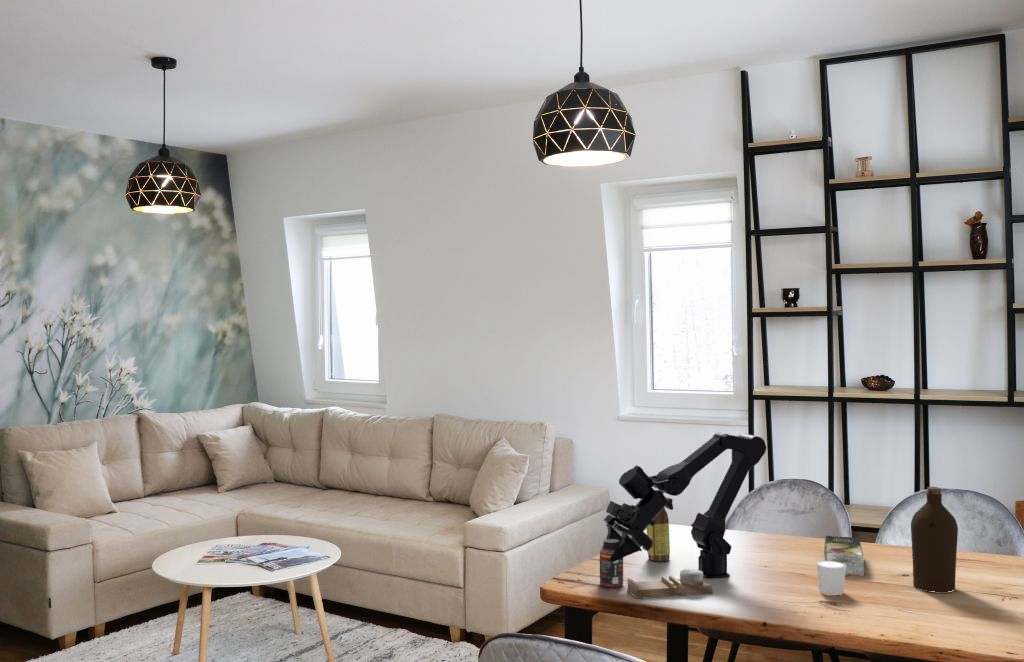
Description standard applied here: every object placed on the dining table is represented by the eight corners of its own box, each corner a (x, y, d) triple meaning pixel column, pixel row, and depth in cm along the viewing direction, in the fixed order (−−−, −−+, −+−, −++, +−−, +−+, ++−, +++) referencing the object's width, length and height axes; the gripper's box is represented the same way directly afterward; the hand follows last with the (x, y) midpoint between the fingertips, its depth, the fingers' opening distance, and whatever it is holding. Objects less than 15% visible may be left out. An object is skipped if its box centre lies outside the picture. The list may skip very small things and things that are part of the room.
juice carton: (866, 577, 229) (866, 554, 229) (826, 575, 232) (826, 551, 232) (860, 558, 248) (860, 536, 248) (823, 556, 251) (823, 534, 251)
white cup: (832, 598, 212) (832, 569, 212) (810, 590, 218) (810, 562, 218) (852, 594, 215) (852, 565, 215) (830, 586, 221) (830, 558, 221)
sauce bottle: (673, 558, 247) (673, 488, 247) (664, 563, 242) (664, 491, 242) (651, 555, 251) (651, 485, 251) (642, 560, 246) (642, 489, 245)
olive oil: (966, 594, 214) (966, 492, 214) (922, 594, 214) (922, 492, 214) (945, 581, 225) (945, 483, 225) (903, 581, 225) (903, 484, 225)
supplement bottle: (622, 589, 220) (622, 543, 219) (598, 587, 221) (598, 542, 221) (624, 582, 225) (624, 538, 225) (600, 580, 227) (600, 536, 226)
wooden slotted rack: (701, 585, 222) (701, 567, 222) (712, 593, 216) (712, 575, 216) (627, 590, 218) (627, 572, 218) (636, 598, 212) (636, 579, 212)
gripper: (610, 483, 233) (571, 528, 230) (641, 497, 215) (599, 545, 212) (637, 511, 235) (599, 555, 232) (670, 526, 217) (629, 575, 214)
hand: (606, 557), depth 223 cm, fingers closed on supplement bottle, 6 cm apart
